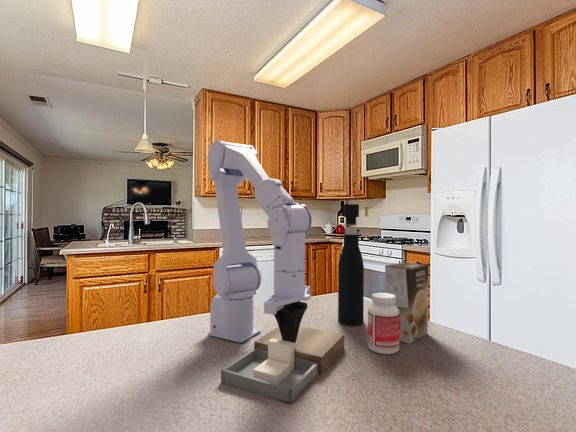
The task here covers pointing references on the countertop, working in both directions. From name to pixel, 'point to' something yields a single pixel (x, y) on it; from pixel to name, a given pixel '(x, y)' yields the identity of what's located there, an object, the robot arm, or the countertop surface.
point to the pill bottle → (383, 324)
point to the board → (310, 345)
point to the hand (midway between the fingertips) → (289, 342)
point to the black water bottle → (351, 273)
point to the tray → (284, 391)
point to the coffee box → (409, 298)
